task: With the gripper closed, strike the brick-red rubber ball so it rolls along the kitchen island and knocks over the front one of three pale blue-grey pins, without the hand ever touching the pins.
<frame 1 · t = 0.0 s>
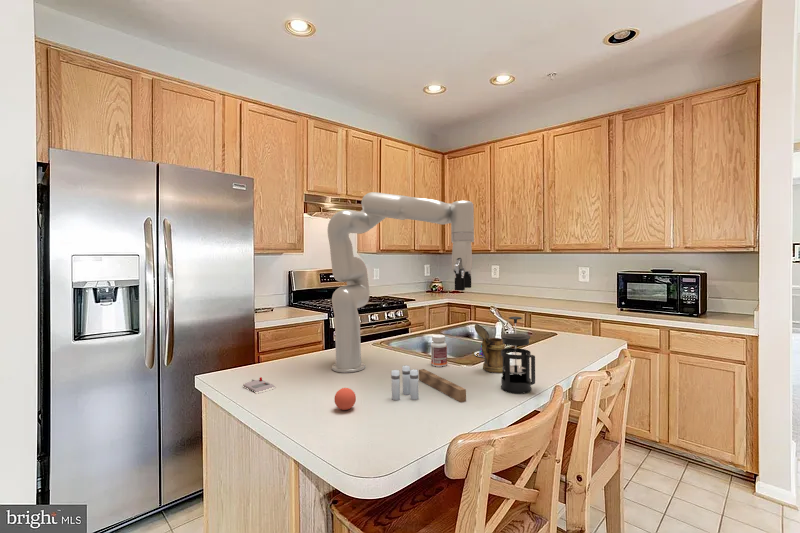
hand: (463, 288, 137), 31 cm above the countertop, tool pointing down, fingers open, 9 cm apart
front pin: (395, 398, 122), on the countertop
ball: (345, 398, 115), on the countertop
french press: (517, 389, 128), on the countertop
pin 1: (406, 393, 127), on the countertop
pin 2: (414, 398, 122), on the countertop
back wall: (440, 389, 129), on the countertop
wooden mug: (490, 371, 149), on the countertop
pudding: (488, 356, 171), on the countertop
pill bottle: (439, 365, 158), on the countertop
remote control: (257, 389, 135), on the countertop
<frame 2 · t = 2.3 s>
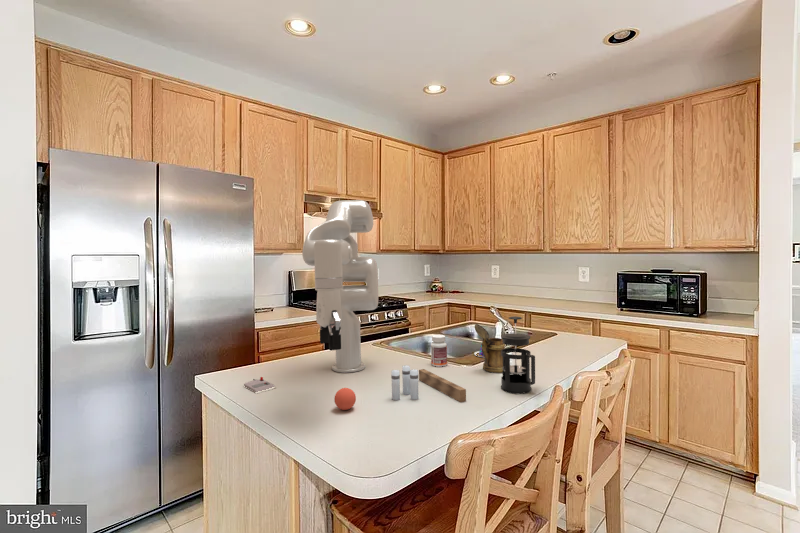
hand: (330, 346, 112), 18 cm above the countertop, tool pointing down, fingers open, 9 cm apart
nothing on the countertop moved.
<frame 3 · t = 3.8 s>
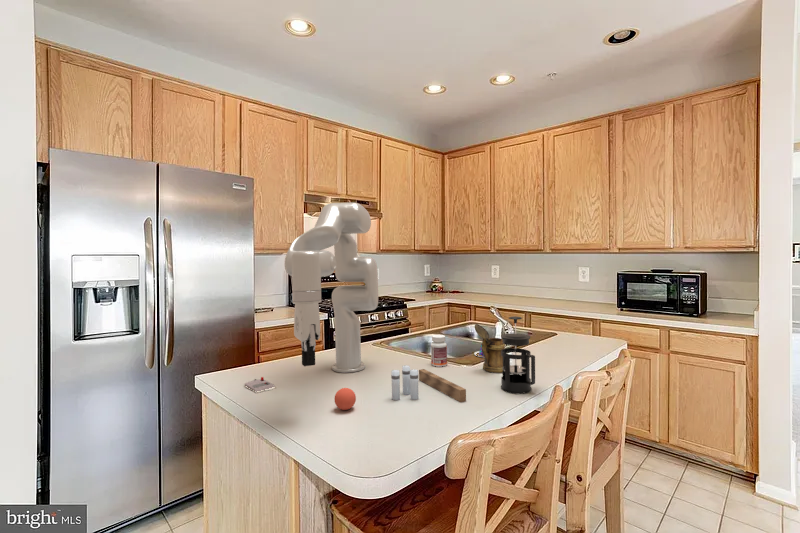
hand: (308, 364, 109), 14 cm above the countertop, tool pointing down, fingers closed
nothing on the countertop moved.
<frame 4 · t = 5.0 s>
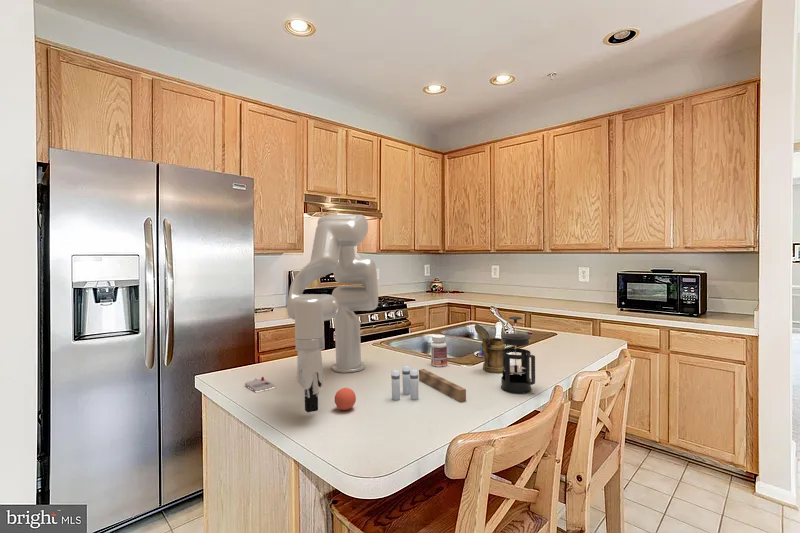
hand: (311, 410, 110), 2 cm above the countertop, tool pointing down, fingers closed
nothing on the countertop moved.
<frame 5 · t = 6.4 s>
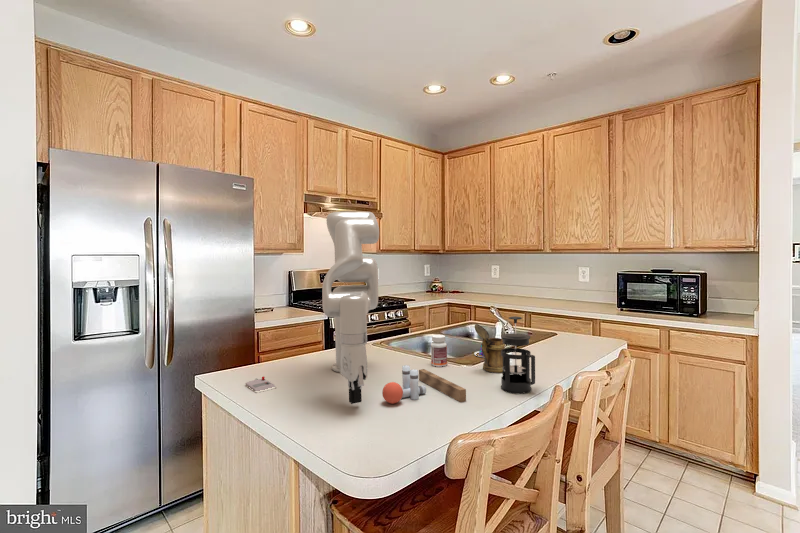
hand: (355, 402, 116), 2 cm above the countertop, tool pointing down, fingers closed
front pin: (400, 394, 123), point 1 cm above the countertop, tilted 90°
ball: (392, 392, 119), on the countertop
everything else where it was.
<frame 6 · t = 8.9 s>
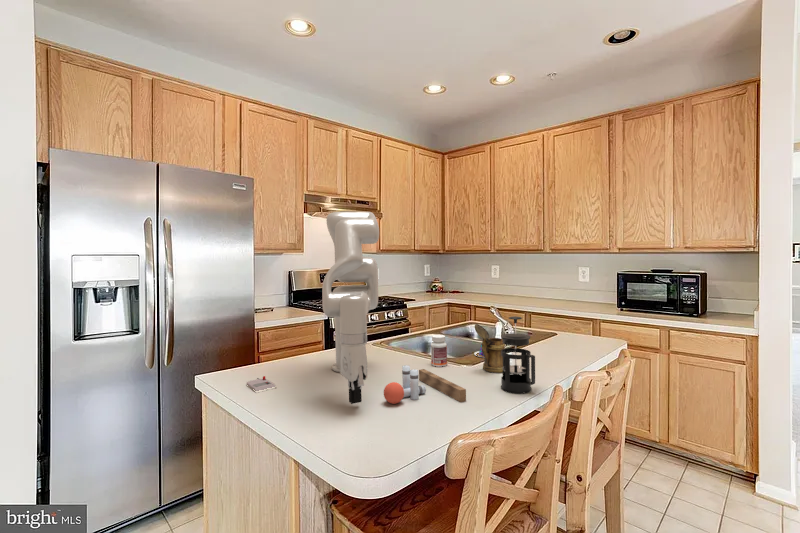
hand: (355, 402, 116), 2 cm above the countertop, tool pointing down, fingers closed
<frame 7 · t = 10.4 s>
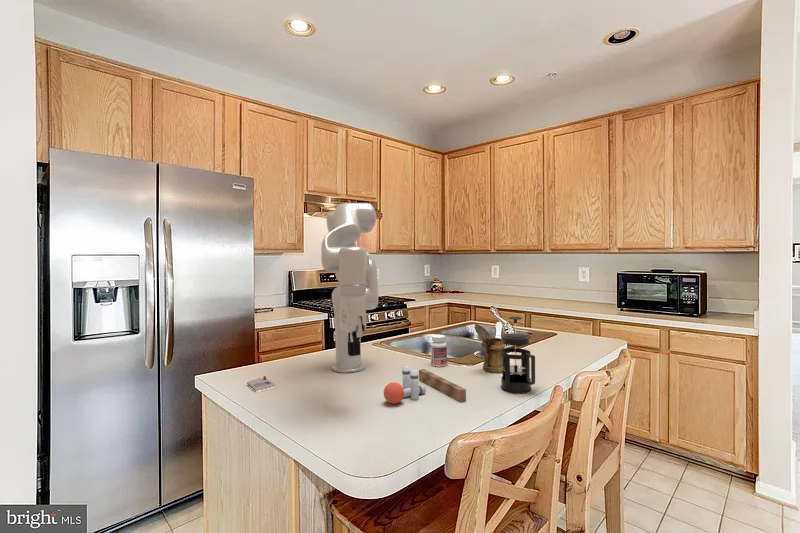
hand: (354, 354, 115), 15 cm above the countertop, tool pointing down, fingers closed
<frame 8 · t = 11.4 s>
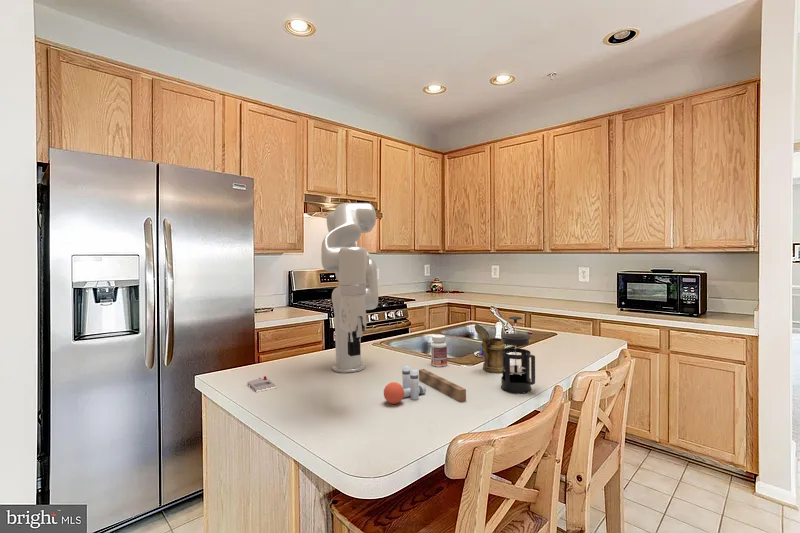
hand: (354, 354, 115), 15 cm above the countertop, tool pointing down, fingers closed
at the end: front pin tilted 90°; front pin never touched the robot; ball moved 14.3 cm from its start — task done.
